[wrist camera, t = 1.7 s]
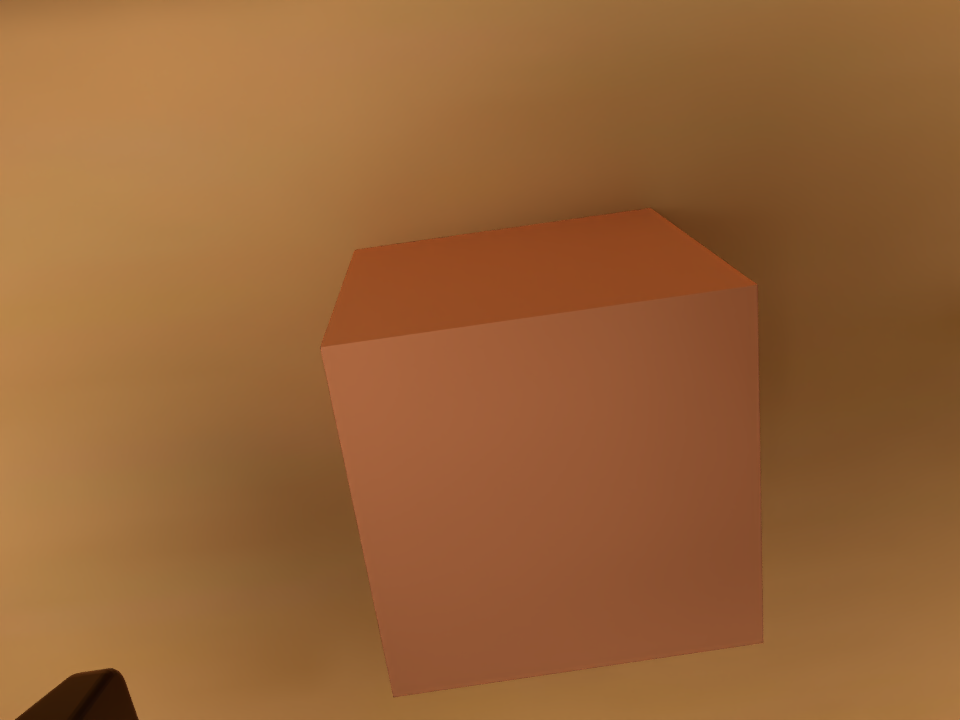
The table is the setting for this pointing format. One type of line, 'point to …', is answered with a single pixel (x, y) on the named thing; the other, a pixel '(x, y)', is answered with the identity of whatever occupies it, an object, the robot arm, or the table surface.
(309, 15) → the table surface
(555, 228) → the terracotta cube
